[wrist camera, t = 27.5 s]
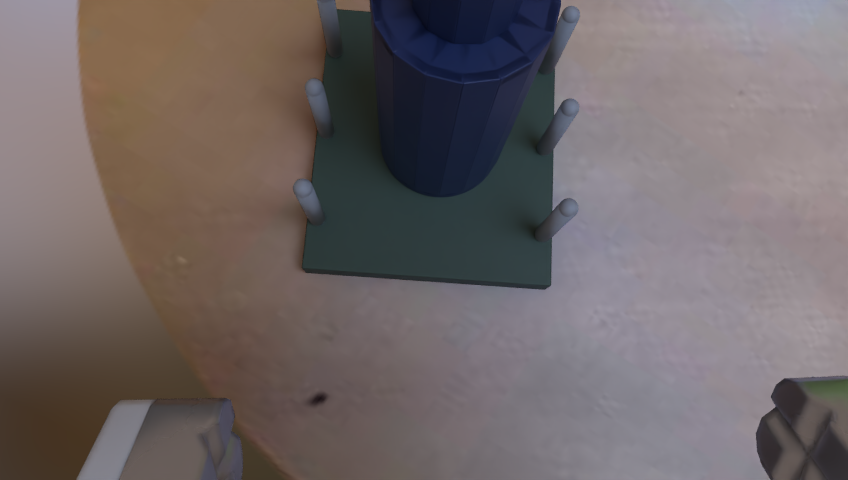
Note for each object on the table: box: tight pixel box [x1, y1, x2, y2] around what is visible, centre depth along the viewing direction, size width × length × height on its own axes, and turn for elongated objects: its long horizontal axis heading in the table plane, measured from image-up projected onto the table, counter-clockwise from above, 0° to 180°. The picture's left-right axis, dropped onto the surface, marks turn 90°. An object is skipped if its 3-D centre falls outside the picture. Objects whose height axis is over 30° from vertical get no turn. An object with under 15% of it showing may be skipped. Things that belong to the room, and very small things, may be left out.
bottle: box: [370, 0, 561, 197], centre depth 23 cm, size 6×6×16 cm
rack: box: [293, 0, 580, 289], centre depth 29 cm, size 14×12×6 cm
